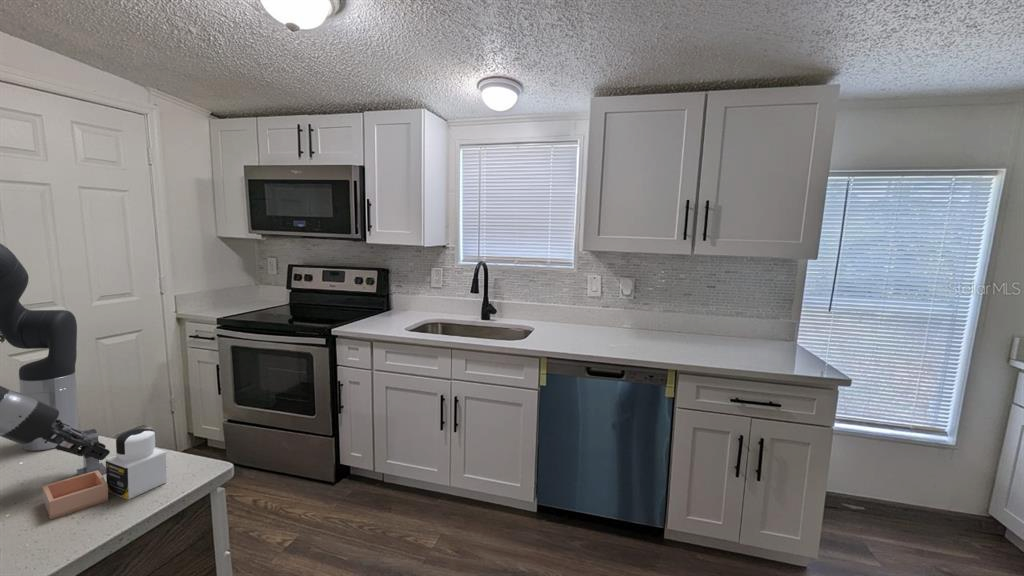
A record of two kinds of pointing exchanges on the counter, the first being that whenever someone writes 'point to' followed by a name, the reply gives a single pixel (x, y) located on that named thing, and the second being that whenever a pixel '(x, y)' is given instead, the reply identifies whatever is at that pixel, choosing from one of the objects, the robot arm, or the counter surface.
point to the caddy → (74, 494)
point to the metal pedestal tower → (89, 462)
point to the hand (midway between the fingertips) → (103, 452)
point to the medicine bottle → (135, 464)
